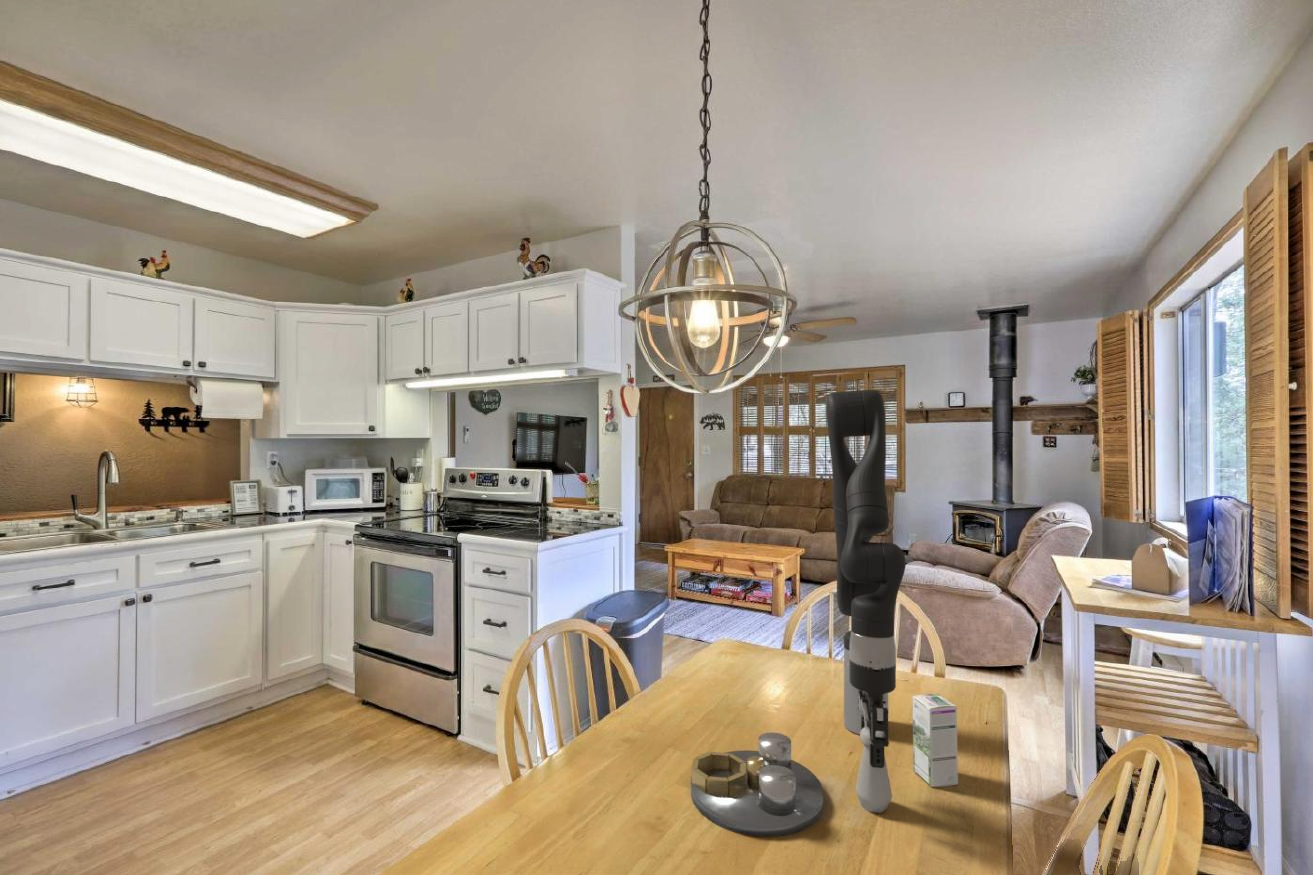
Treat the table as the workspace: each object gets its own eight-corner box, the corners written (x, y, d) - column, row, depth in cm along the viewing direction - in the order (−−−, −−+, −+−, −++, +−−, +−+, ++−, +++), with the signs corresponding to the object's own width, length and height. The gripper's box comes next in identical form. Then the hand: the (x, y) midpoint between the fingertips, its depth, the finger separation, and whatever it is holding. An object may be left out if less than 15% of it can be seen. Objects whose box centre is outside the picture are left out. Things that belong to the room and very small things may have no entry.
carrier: (697, 756, 120) (697, 720, 120) (815, 766, 116) (816, 729, 116) (683, 828, 97) (683, 784, 97) (831, 844, 93) (831, 798, 94)
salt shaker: (883, 795, 106) (883, 721, 107) (897, 815, 101) (897, 737, 101) (850, 796, 106) (850, 722, 106) (863, 816, 100) (863, 737, 101)
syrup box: (959, 785, 110) (959, 705, 110) (929, 788, 109) (929, 707, 109) (939, 768, 115) (939, 692, 116) (911, 771, 115) (911, 694, 115)
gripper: (843, 644, 111) (843, 733, 111) (856, 671, 97) (856, 773, 97) (886, 647, 110) (886, 737, 110) (905, 674, 96) (905, 778, 96)
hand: (872, 754), depth 103 cm, fingers open, 8 cm apart
